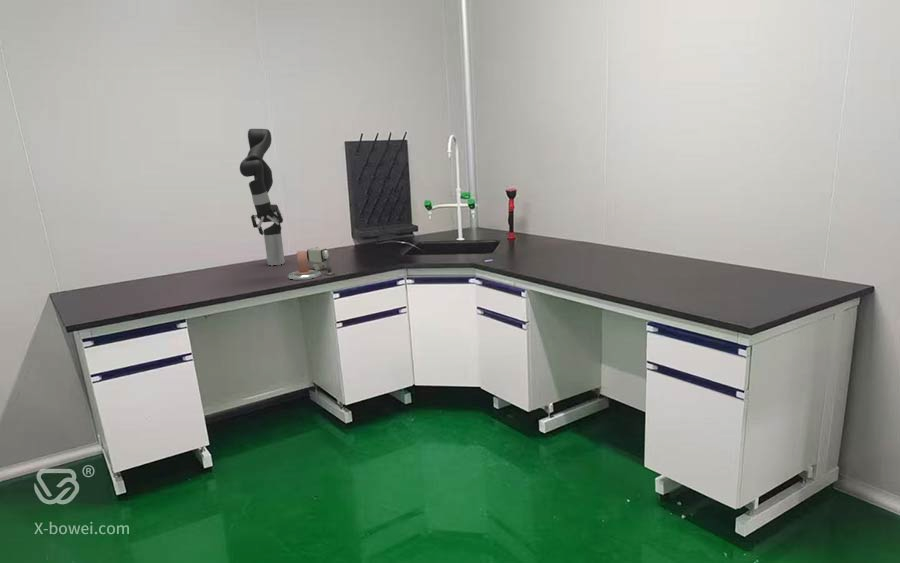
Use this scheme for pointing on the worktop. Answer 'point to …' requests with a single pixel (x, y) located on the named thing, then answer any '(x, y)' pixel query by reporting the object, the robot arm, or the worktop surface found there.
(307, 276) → the disc
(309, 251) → the pneumatic valve
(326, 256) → the dial post
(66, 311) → the worktop surface
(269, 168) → the robot arm
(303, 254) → the cast cover
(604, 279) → the worktop surface
